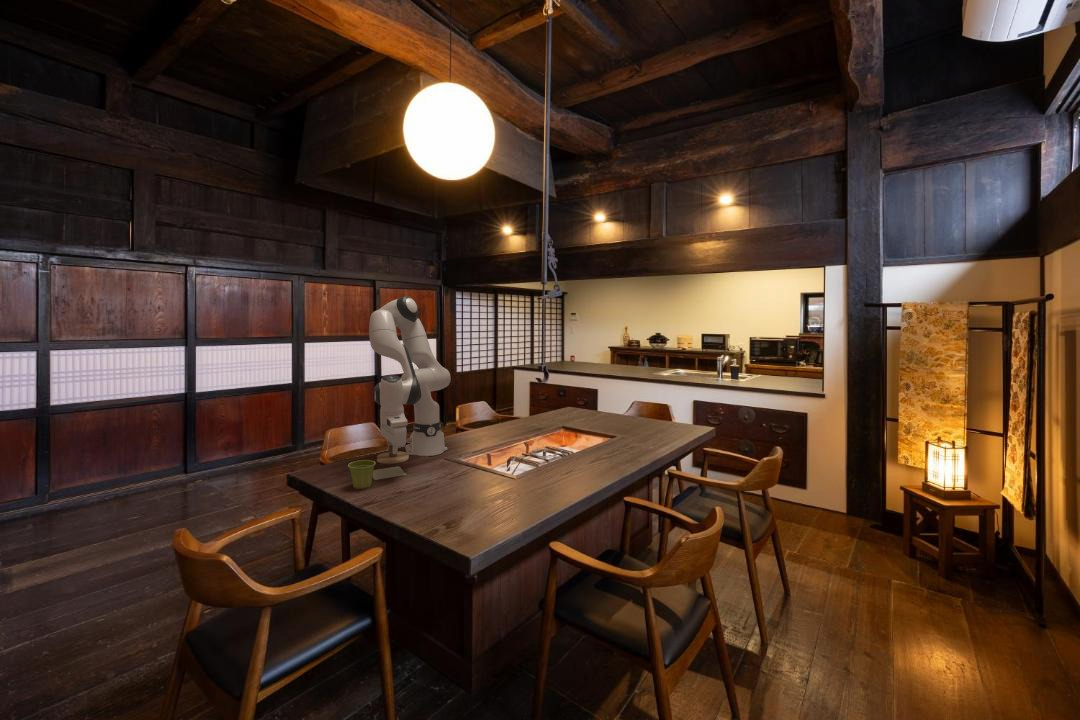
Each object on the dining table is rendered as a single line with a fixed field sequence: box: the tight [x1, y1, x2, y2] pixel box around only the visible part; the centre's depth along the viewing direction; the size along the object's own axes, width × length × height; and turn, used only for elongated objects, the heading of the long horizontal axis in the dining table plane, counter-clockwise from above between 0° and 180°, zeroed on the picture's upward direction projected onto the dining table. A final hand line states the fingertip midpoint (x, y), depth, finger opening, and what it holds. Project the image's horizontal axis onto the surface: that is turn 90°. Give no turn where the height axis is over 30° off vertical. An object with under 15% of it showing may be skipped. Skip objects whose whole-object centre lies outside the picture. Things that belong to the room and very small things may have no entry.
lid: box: [376, 445, 410, 465], centre depth 183 cm, size 12×12×5 cm
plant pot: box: [347, 459, 377, 490], centre depth 169 cm, size 9×9×9 cm
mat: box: [372, 465, 407, 481], centre depth 183 cm, size 12×12×1 cm
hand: (392, 452), depth 183 cm, fingers closed on lid, 3 cm apart
